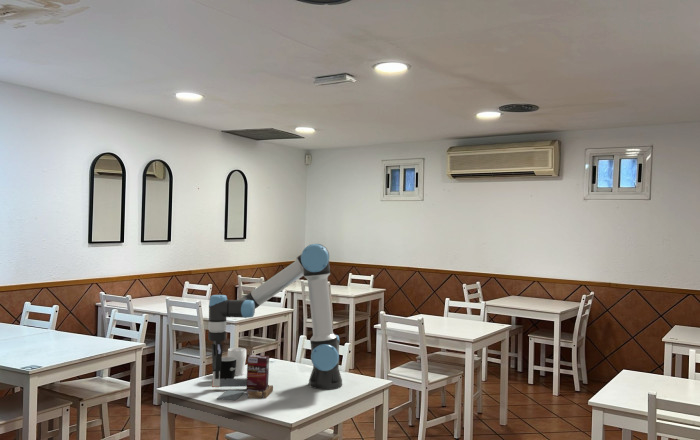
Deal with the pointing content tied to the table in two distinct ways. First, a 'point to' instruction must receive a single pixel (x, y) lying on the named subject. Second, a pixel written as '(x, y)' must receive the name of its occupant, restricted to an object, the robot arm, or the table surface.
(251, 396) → the cradle
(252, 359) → the supplement box
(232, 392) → the slate mat
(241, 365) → the cup
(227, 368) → the mug
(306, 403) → the table surface
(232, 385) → the lever
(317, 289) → the robot arm
